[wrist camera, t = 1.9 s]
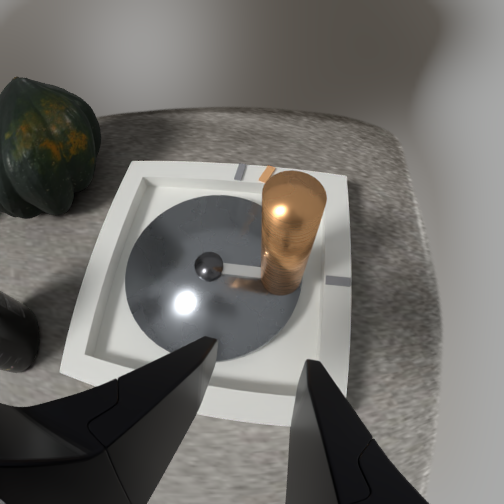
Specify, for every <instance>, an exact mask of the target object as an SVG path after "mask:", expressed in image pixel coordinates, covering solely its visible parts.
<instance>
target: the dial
mask: <svg viewBox="0 0 504 504" xmlns="http://www.w3.org/2000/svg"><path fill="white" fill-rule="evenodd" d="M326 202H327V195H326V191H325V189H324V187H323V185H322V184H321V183H320V182H319V181H318V180H317V179H316V178H315V177H313V176H311V175H309V174H307V173H304V172H301V171H294V170H290V171H283V172H279V173H277V174H275V175H273V176H271V177H270V178H269V179H268V180H267V181H266V183H265V184H264V186H263V189H262V206H261V205H259V204H257V203H255V202H252V201H250V200H247V199H243V198H239V197H235V196H227V195H210V196H202V197H197V198H193V199H190V200H186V201H184V202H181V203H179V204H177V205H175V206H173V207H171V208H169V209H167V210H166V211H164V212H163V213H162V214H160V215H159V216H157V217H156V218H155V219H154V220H153V221H152V222H151V223H150V224H149V225H148V226H147V227H146V228H145V229H144V230H143V232H142V233H141V235H140V236H139V238H138V239H137V241H136V243H135V244H134V246H133V248H132V251H131V253H130V256H129V259H128V263H127V267H126V273H125V291H126V298H127V302H128V305H129V308H130V311H131V313H132V315H133V317H134V319H135V321H136V322H137V324H138V325H139V327H140V328H141V330H142V331H143V332H144V333H145V334H146V335H147V336H148V337H149V338H150V339H151V340H152V341H153V342H155V343H156V344H157V345H158V346H160V347H162V348H163V349H165V350H167V351H168V352H170V353H171V352H173V351H175V350H177V349H179V348H181V347H183V346H185V345H187V344H189V343H191V342H193V341H195V340H197V339H199V338H201V337H203V336H208V337H212V338H216V339H217V340H218V348H217V357H216V363H217V362H226V361H231V360H235V359H239V358H242V357H245V356H247V355H249V354H251V353H253V352H255V351H257V350H259V349H260V348H262V347H263V346H265V345H266V344H268V343H269V342H270V341H271V340H272V339H273V338H275V337H276V336H277V335H278V334H279V332H280V331H281V330H282V329H283V328H284V327H285V325H286V324H287V322H288V320H289V319H290V317H291V315H292V313H293V311H294V309H295V307H296V304H297V302H298V299H299V295H300V292H301V287H302V279H303V274H304V271H305V268H306V265H307V262H308V259H309V256H310V253H311V250H312V247H313V244H314V241H315V238H316V235H317V231H318V228H319V225H320V222H321V219H322V216H323V212H324V209H325V206H326Z"/></svg>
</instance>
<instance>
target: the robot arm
mask: <svg viewBox="0 0 504 504" xmlns="http://www.w3.org/2000/svg"><path fill="white" fill-rule="evenodd" d="M217 348H218V340H217V339H216V338H212V337H208V336H203V337H201V338H199V339H197V340H195V341H193V342H191V343H189V344H187V345H185V346H183V347H181V348H179V349H177V350H175V351H173V352H171V353H169V354H167V355H165V356H163V357H161V358H159V359H156V360H154V361H152V362H150V363H148V364H146V365H144V366H142V367H140V368H137V369H135V370H133V371H131V372H129V373H127V374H124V375H122V376H120V377H118V380H117V379H113V380H111V381H109V382H107V383H104V384H102V385H99V386H97V387H94V388H92V389H89V390H86V391H83V392H80V393H77V394H74V395H71V396H68V397H64V398H61V399H57V400H54V401H50V402H46V403H43V404H39V405H35V406H30V407H14V406H9V405H5V404H2V403H0V504H147V502H148V501H149V499H150V497H151V495H152V494H153V492H154V490H155V488H156V487H157V485H158V483H159V481H160V480H161V478H162V476H163V474H164V472H165V471H166V469H167V467H168V465H169V463H170V462H171V460H172V458H173V456H174V454H175V453H176V451H177V449H178V447H179V445H180V444H181V442H182V440H183V438H184V436H185V434H186V433H187V431H188V429H189V427H190V425H191V423H192V421H193V420H194V418H195V416H196V414H197V412H198V410H199V408H200V405H201V403H202V401H203V398H204V395H205V392H206V389H207V387H208V384H209V381H210V378H211V376H212V373H213V370H214V367H215V364H216V357H217ZM372 438H373V437H372V435H371V434H370V432H369V431H368V429H367V428H366V427H365V425H364V424H363V422H362V421H361V419H360V418H359V416H358V415H357V414H356V412H355V411H354V409H353V408H352V406H351V405H350V403H349V402H348V401H347V399H346V398H345V396H344V395H343V393H342V392H341V390H340V389H339V388H338V386H337V385H336V383H335V382H334V380H333V379H332V377H331V376H330V375H329V373H328V372H327V370H326V369H325V367H324V366H323V364H322V363H321V362H320V361H318V360H312V359H307V360H306V361H305V363H304V366H303V369H302V372H301V375H300V378H299V381H298V386H297V392H296V398H295V403H294V409H293V415H292V420H291V427H290V439H289V458H288V475H287V490H286V503H285V504H429V503H428V502H427V501H426V500H425V499H424V498H423V497H422V496H421V495H420V494H419V492H418V491H417V490H416V489H415V488H414V487H413V486H412V485H411V484H410V483H409V482H408V481H407V480H406V478H405V477H404V476H403V475H402V474H401V473H400V472H399V471H398V469H397V468H396V467H395V466H394V465H393V464H392V462H391V461H390V460H389V459H388V457H387V456H386V455H385V453H384V452H383V451H382V449H381V448H380V446H379V445H378V444H377V442H376V441H375V439H372Z"/></svg>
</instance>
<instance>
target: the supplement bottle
mask: <svg viewBox="0 0 504 504" xmlns="http://www.w3.org/2000/svg"><path fill="white" fill-rule="evenodd" d="M38 347H39V327H38V323H37V320H36V318H35V316H34V314H33V312H32V311H31V310H30V309H29V308H28V307H27V306H26V305H24V304H22V303H20V302H19V301H17V300H15V299H13V298H12V297H10V296H8V295H6V294H5V293H3V292H1V291H0V370H4V371H8V372H13V373H18V372H22V371H24V370H26V369H27V368H28V367H29V366H30V365H31V364H32V362H33V361H34V359H35V357H36V354H37V351H38Z"/></svg>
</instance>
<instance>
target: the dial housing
mask: <svg viewBox="0 0 504 504" xmlns="http://www.w3.org/2000/svg"><path fill="white" fill-rule="evenodd" d="M290 170H294V171H301V172H304V173H307V174H309V175H311V176H313V177H315V178H316V179H317V180H318V181H319V182H320V183H321V184H322V185H323V187H324V189H325V191H326V195H327V202H326V206H325V209H324V212H323V216H322V219H321V222H320V225H319V228H318V231H317V235H316V238H315V241H314V244H313V247H312V250H311V253H310V256H309V259H308V262H307V265H306V268H305V271H304V274H303V279H302V287H301V292H300V295H299V299H298V302H297V304H296V307H295V309H294V311H293V313H292V315H291V317H290V319H289V320H288V322H287V324H286V325H285V327H284V328H283V329H282V330H281V331H280V332H279V334H278V335H277V336H276V337H275V338H273V339H272V340H271V341H270V342H269V343H268V344H266V345H265V346H263V347H262V348H260V349H259V350H257V351H255V352H253V353H251V354H249V355H247V356H245V357H242V358H239V359H235V360H231V361H226V362H217V363H216V364H215V367H214V370H213V373H212V376H211V378H210V381H209V384H208V387H207V389H206V392H205V395H204V398H203V401H202V403H201V405H200V408H199V410H198V412H197V414H199V415H205V416H210V417H216V418H222V419H228V420H235V421H242V422H249V423H258V424H267V425H278V426H291V420H292V415H293V409H294V403H295V398H296V392H297V386H298V381H299V378H300V375H301V372H302V369H303V366H304V363H305V361H306V360H307V359H312V360H318V361H320V362H321V363H322V364H323V366H324V367H325V369H326V370H327V372H328V373H329V375H330V376H331V377H332V379H333V380H334V382H335V383H336V385H337V386H338V388H339V389H340V390H341V392H342V393H343V395H344V396H345V398H346V394H347V383H348V370H349V354H350V333H351V239H350V218H349V201H348V188H347V176H344V175H337V174H330V173H322V172H314V171H306V170H297V169H288V168H278V167H272V166H269V165H268V166H256V165H246V164H241V163H239V164H228V163H210V162H184V161H132V162H131V164H130V166H129V168H128V170H127V172H126V174H125V176H124V178H123V180H122V182H121V185H120V187H119V189H118V191H117V193H116V196H115V198H114V200H113V202H112V205H111V207H110V209H109V212H108V214H107V216H106V219H105V221H104V224H103V226H102V229H101V231H100V234H99V236H98V239H97V242H96V244H95V247H94V250H93V252H92V255H91V258H90V261H89V264H88V267H87V270H86V273H85V276H84V279H83V282H82V285H81V288H80V291H79V295H78V298H77V301H76V305H75V308H74V312H73V316H72V319H71V323H70V327H69V331H68V335H67V339H66V343H65V348H64V352H63V357H62V362H61V367H60V373H62V374H65V375H67V376H70V377H72V378H75V379H77V380H80V381H83V382H85V383H88V384H91V385H93V386H96V387H97V386H99V385H102V384H104V383H107V382H109V381H111V380H113V379H117V380H118V377H120V376H122V375H124V374H127V373H129V372H131V371H133V370H135V369H137V368H140V367H142V366H144V365H146V364H148V363H150V362H152V361H154V360H156V359H159V358H161V357H163V356H165V355H167V354H169V353H170V352H168V351H167V350H165V349H163V348H162V347H160V346H158V345H157V344H156V343H155V342H153V341H152V340H151V339H150V338H149V337H148V336H147V335H146V334H145V333H144V332H143V331H142V330H141V328H140V327H139V325H138V324H137V322H136V321H135V319H134V317H133V315H132V313H131V311H130V308H129V305H128V302H127V298H126V291H125V273H126V267H127V263H128V259H129V256H130V253H131V251H132V248H133V246H134V244H135V243H136V241H137V239H138V238H139V236H140V235H141V233H142V232H143V230H144V229H145V228H146V227H147V226H148V225H149V224H150V223H151V222H152V221H153V220H154V219H155V218H156V217H157V216H159V215H160V214H162V213H163V212H164V211H166V210H167V209H169V208H171V207H173V206H175V205H177V204H179V203H181V202H184V201H186V200H190V199H193V198H197V197H202V196H210V195H227V196H235V197H239V198H243V199H247V200H250V201H252V202H255V203H257V204H259V205H261V206H262V189H263V186H264V184H265V183H266V181H267V180H268V179H269V178H270V177H271V176H273V175H275V174H277V173H279V172H283V171H290Z"/></svg>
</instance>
